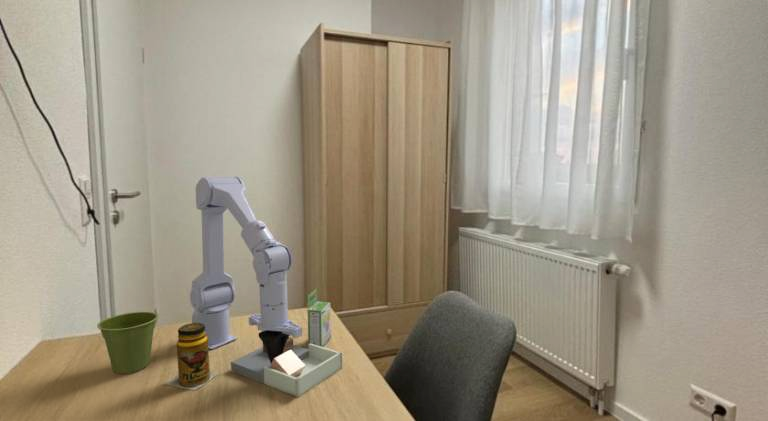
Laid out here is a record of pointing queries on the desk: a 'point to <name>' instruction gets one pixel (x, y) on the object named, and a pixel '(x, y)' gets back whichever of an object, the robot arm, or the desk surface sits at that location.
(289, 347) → the walnut tile
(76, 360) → the desk surface
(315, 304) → the ink box
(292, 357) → the terracotta tile
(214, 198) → the robot arm
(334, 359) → the tray
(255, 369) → the slate board
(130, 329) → the plant pot
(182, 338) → the condiment
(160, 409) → the desk surface
